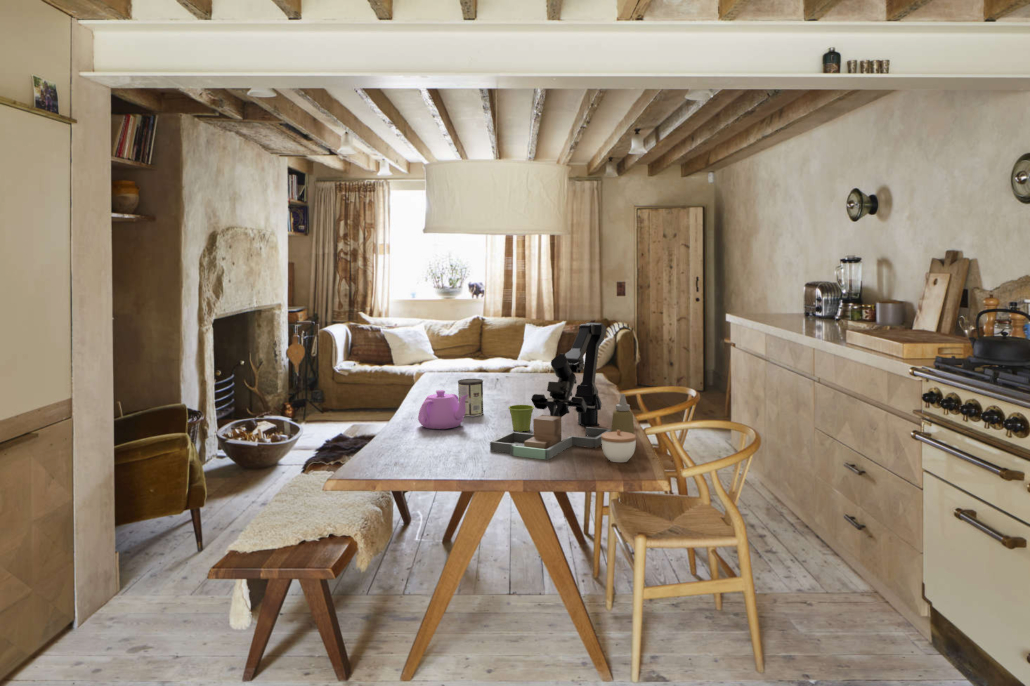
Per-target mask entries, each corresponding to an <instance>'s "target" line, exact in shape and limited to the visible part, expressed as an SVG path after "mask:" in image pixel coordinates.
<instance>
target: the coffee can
mask: <svg viewBox="0 0 1030 686" xmlns="http://www.w3.org/2000/svg"><path fill="white" fill-rule="evenodd" d="M483 382H484V380H483V379H481V378H463V379H459V380H457V383H458V386H457V387H458V388H457V389H458V390H457V391H458V400H459V401H458V402H460V398H461V397H462V396H465V395H468V396H467V397H466V399H465V408H466V412H465V415H464V417H466V416H474V417H480V416H483V415H484V414H483V413H484V383H483ZM482 414H483V415H482ZM479 415H480V416H479Z"/></svg>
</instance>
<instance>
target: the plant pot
mask: <svg viewBox="0 0 1030 686" xmlns="http://www.w3.org/2000/svg"><path fill="white" fill-rule="evenodd" d="M534 409H535V406H534V405H529V404H514V405H510V406H508V410H509V413H510V417H511V424H512V430H513V431H514V432H517V431H519V433H523V432H522V431H524V432H525V431H526V432H529V431H530V429H531V421H532V414H533V412H534Z"/></svg>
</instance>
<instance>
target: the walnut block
mask: <svg viewBox="0 0 1030 686" xmlns="http://www.w3.org/2000/svg"><path fill="white" fill-rule="evenodd" d="M532 419H533V427H532V428H533V433H532V434H533V436H534V437H532V438H530V439H528V440H526V441H524V447H531V448H540V449H548V448H550V447H551V446H553V445H555V444H557V443H559V442H560V441H562V417H560V416H550V414H549V415H547V414H546V415H545V414H541V415H539V416H536V417H534V418H532Z"/></svg>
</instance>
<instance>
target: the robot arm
mask: <svg viewBox="0 0 1030 686" xmlns="http://www.w3.org/2000/svg"><path fill="white" fill-rule="evenodd" d="M606 334H607V326H606V325H605V324H604V323H603V322H586V323H582V324H579V327H578V332H577V334H576V337H575V340H574V342H573V343H572V347H571V348H570V350H569V351H567V352H565V353H559V354H558V356H557V355H556V356H555V357H554V358H552V359H551V361H550V366H551V368H552V369H553V372H554V374H555V376H556V377H557V378H558V380H557V381H548V382H547V387H546V392H548V393H549V397H547V398H546V396H545V394H543V393H534V394H532V396H531V398H530V399H531V402H532V404H533V406H534V409H537V410H546V409H548V411H549V416H560V417H561V418H563V417H564V416H565V415H566V414H570V408H571V407H574V408H575V411H576V413H577V416H578V419H577V424H578V423H579V424H578V425H580V424H581V426H582V425H583V426H582V427H594V426H595V425H597V426H600V423H598V421H599V419H598V416H599V415H598V412H599V410H600V411H601V409H602V401H601V398H600V396H599V390H598V387H597V386H596V376H597V367H598V366H597V365H598V358H599V349H600V346H601V344H602V343H603V342H604V340H605V335H606ZM584 356H585V357H584ZM583 357H584V358H583ZM582 371H583V375H582V381H581V383H580V384H578V385H577V381H578V380H577V377H576V374H580V373H581V372H582ZM575 384H576V385H577V386H576V393H575V394H574V396H573V388H574V385H575ZM570 397H571V399H570ZM595 427H596V426H595Z"/></svg>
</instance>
